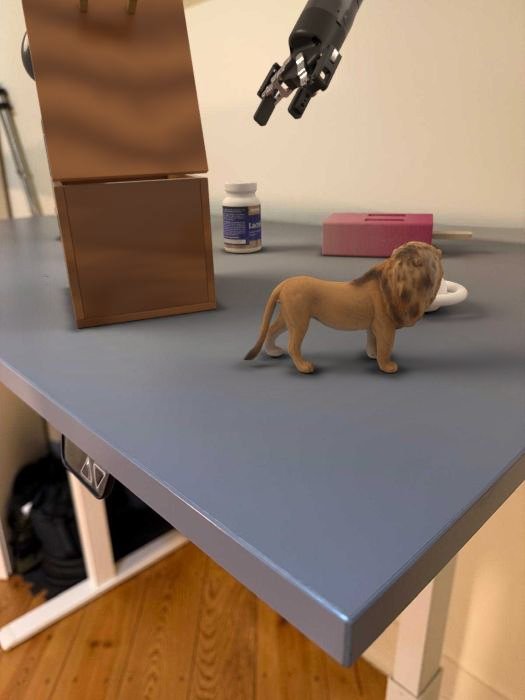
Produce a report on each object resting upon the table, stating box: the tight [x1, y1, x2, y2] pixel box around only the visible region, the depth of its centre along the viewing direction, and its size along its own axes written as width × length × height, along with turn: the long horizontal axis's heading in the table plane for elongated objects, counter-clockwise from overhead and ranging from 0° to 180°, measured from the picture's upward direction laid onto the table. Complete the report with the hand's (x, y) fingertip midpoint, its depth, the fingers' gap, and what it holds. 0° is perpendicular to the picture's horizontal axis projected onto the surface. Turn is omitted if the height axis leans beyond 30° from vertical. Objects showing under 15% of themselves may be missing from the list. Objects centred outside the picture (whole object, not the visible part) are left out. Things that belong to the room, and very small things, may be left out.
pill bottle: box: [221, 180, 263, 254], centre depth 80 cm, size 6×6×10 cm
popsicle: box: [321, 212, 473, 259], centre depth 77 cm, size 9×5×20 cm
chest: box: [50, 174, 217, 329], centre depth 57 cm, size 16×14×13 cm
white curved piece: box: [424, 276, 468, 313], centre depth 52 cm, size 8×6×8 cm
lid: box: [20, 0, 209, 182], centre depth 45 cm, size 16×14×6 cm
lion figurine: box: [242, 241, 444, 374], centre depth 40 cm, size 15×5×9 cm, turn 93°
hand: (275, 119), depth 79 cm, fingers open, 8 cm apart
